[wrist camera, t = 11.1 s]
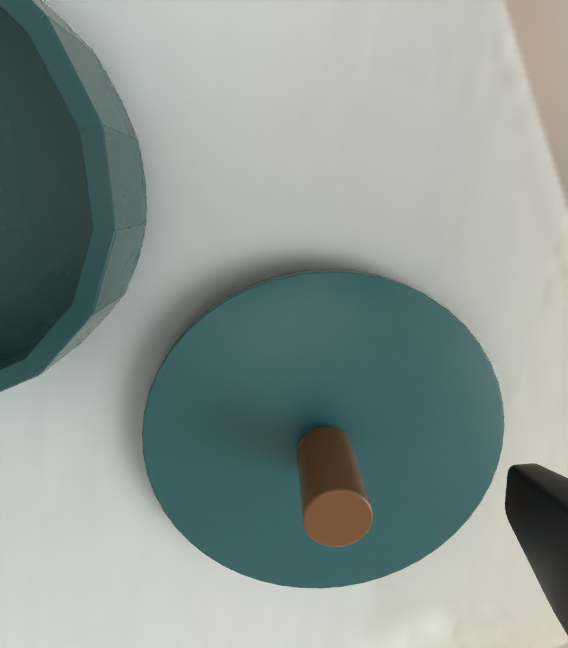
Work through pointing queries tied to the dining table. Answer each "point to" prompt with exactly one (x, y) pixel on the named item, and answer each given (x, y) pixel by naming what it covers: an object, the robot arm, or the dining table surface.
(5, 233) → the pot
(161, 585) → the dining table surface
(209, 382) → the lid
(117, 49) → the dining table surface
